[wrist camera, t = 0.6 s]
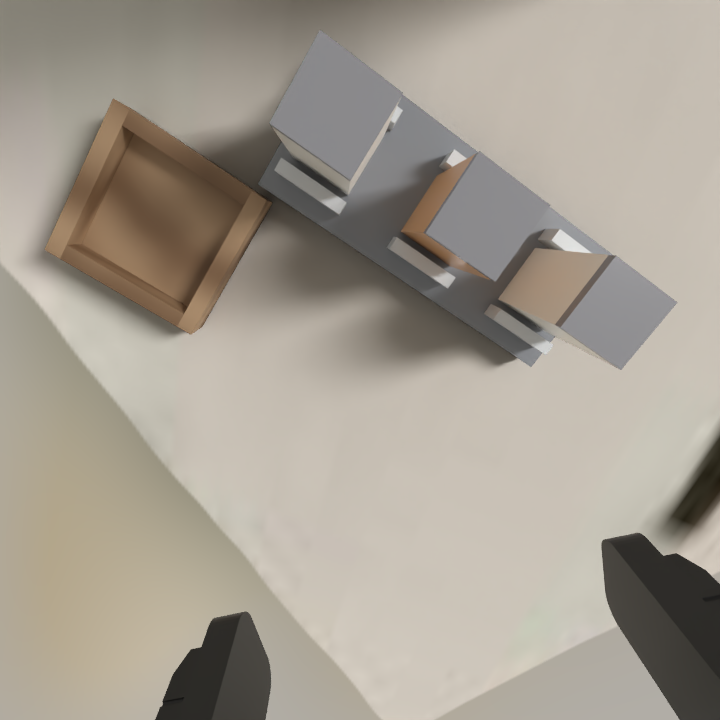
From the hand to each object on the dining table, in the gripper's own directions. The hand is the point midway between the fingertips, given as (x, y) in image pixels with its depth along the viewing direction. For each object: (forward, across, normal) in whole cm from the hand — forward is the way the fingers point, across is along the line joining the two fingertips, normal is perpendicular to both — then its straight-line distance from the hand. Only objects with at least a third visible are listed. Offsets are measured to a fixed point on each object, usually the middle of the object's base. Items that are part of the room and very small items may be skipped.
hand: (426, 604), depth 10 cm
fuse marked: (+22, -6, -7) cm, 24 cm away
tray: (+24, +12, -11) cm, 28 cm away
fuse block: (+24, -6, -7) cm, 26 cm away
